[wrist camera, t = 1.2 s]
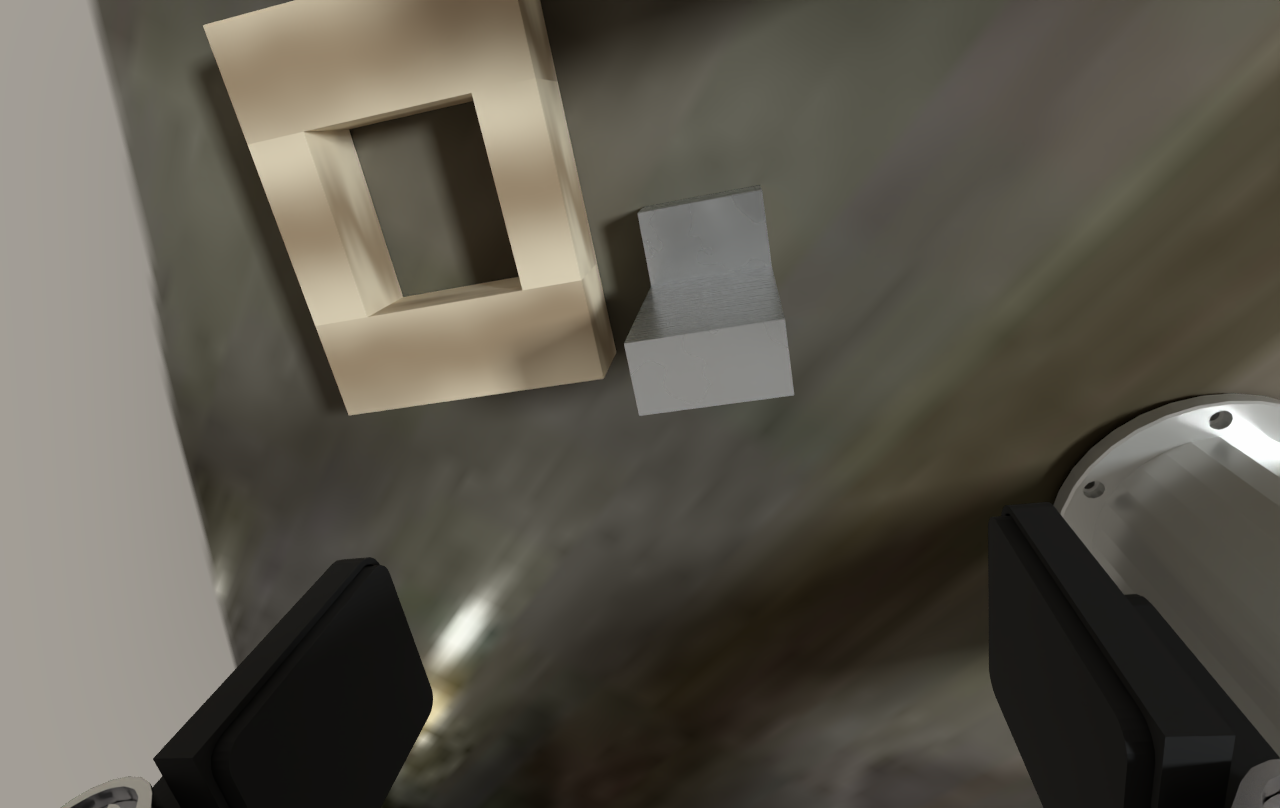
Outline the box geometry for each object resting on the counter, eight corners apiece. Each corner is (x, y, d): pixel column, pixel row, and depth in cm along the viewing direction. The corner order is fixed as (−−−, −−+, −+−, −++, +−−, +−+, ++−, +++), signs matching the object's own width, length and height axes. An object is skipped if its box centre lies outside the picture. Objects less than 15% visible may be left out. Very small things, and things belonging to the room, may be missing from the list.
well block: (616, 352, 33) (603, 378, 30) (384, 387, 35) (348, 415, 32) (532, -37, 27) (504, -57, 24) (260, 34, 29) (202, 25, 26)
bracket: (776, 311, 31) (794, 395, 22) (665, 328, 32) (639, 415, 23) (760, 184, 29) (772, 218, 20) (643, 207, 30) (603, 248, 21)
